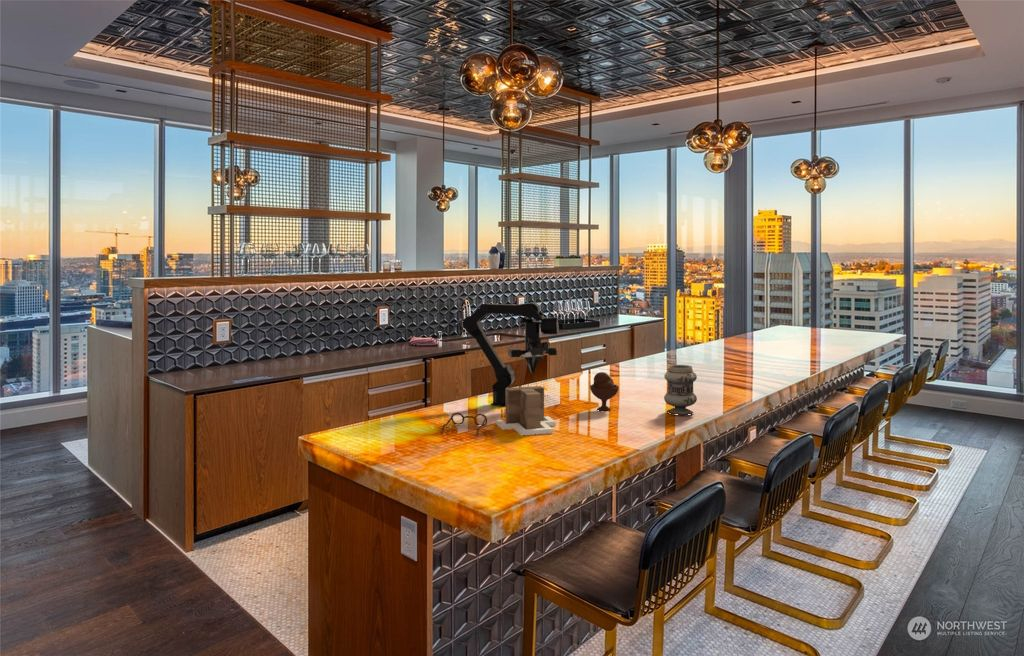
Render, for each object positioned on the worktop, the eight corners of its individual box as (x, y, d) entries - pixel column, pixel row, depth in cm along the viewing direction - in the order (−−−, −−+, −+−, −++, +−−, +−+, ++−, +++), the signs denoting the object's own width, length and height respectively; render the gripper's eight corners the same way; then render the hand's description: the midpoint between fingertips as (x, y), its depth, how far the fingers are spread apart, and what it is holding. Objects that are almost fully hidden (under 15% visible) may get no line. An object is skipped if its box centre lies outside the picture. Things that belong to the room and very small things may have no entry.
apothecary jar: (670, 408, 255) (671, 362, 253) (701, 412, 248) (702, 365, 246) (658, 414, 245) (659, 366, 243) (689, 418, 238) (691, 369, 236)
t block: (505, 424, 231) (505, 388, 230) (540, 421, 235) (540, 385, 233) (515, 433, 219) (515, 395, 218) (552, 430, 222) (552, 393, 221)
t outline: (496, 424, 231) (496, 419, 231) (548, 420, 237) (548, 416, 236) (509, 436, 215) (509, 432, 215) (564, 432, 220) (564, 427, 220)
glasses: (487, 427, 229) (487, 413, 228) (477, 437, 216) (477, 422, 216) (452, 425, 232) (451, 411, 231) (439, 435, 219) (439, 420, 218)
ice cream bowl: (618, 413, 245) (618, 374, 244) (588, 412, 248) (588, 373, 246) (619, 407, 256) (619, 369, 254) (590, 406, 258) (590, 369, 256)
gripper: (515, 337, 247) (515, 378, 249) (561, 335, 252) (561, 375, 254) (507, 334, 258) (507, 373, 259) (552, 332, 263) (552, 370, 264)
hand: (532, 373), depth 259 cm, fingers closed
